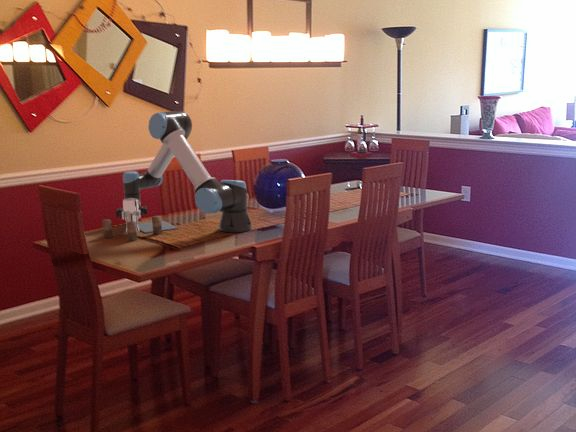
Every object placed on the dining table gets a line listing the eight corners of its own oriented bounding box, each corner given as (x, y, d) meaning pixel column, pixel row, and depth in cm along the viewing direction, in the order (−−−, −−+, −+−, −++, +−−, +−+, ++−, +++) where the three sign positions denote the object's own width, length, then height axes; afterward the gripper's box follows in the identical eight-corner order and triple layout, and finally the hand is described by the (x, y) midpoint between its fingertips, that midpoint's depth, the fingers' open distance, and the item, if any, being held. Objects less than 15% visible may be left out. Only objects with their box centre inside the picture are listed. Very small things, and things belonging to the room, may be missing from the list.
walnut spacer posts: (167, 236, 319) (165, 218, 317) (112, 243, 307) (110, 226, 305) (155, 229, 332) (154, 213, 331) (102, 237, 321) (101, 219, 319)
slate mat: (178, 228, 333) (177, 227, 333) (145, 233, 326) (145, 232, 325) (163, 221, 350) (163, 220, 350) (132, 226, 343) (132, 224, 343)
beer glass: (122, 233, 319) (119, 200, 316) (130, 229, 326) (127, 197, 323) (135, 233, 317) (132, 200, 314) (143, 230, 323) (141, 198, 320)
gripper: (153, 213, 340) (154, 222, 317) (112, 216, 336) (109, 225, 314) (152, 197, 338) (152, 206, 316) (110, 200, 335) (107, 209, 312)
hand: (131, 215), depth 315 cm, fingers closed on beer glass, 7 cm apart
